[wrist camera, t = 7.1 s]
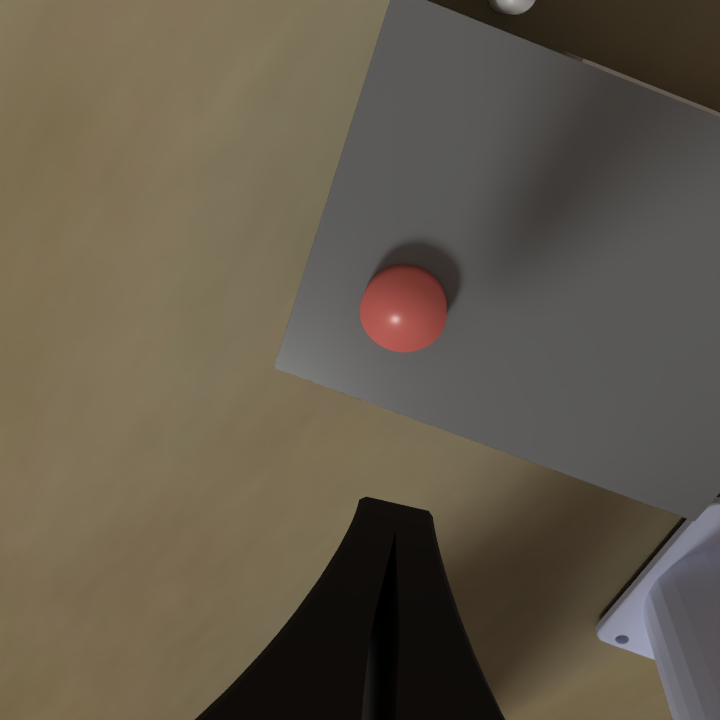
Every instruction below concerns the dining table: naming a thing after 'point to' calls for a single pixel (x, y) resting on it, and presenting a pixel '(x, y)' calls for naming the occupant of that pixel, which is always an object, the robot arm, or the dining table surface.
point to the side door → (510, 6)
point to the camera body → (524, 259)
